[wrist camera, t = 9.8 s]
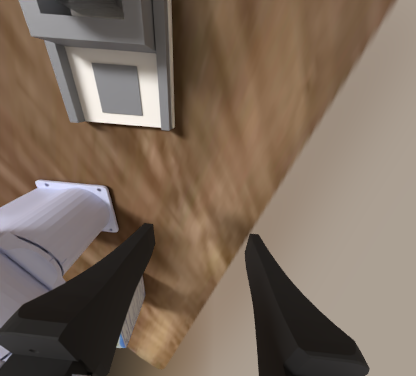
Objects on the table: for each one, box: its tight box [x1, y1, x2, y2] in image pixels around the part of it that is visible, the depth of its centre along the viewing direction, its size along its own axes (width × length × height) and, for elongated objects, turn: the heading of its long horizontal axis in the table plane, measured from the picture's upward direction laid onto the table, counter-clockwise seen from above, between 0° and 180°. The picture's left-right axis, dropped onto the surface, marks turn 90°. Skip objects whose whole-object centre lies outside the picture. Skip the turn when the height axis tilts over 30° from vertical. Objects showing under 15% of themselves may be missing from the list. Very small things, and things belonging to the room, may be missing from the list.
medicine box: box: [116, 275, 145, 348], centre depth 29 cm, size 8×4×9 cm, turn 173°
